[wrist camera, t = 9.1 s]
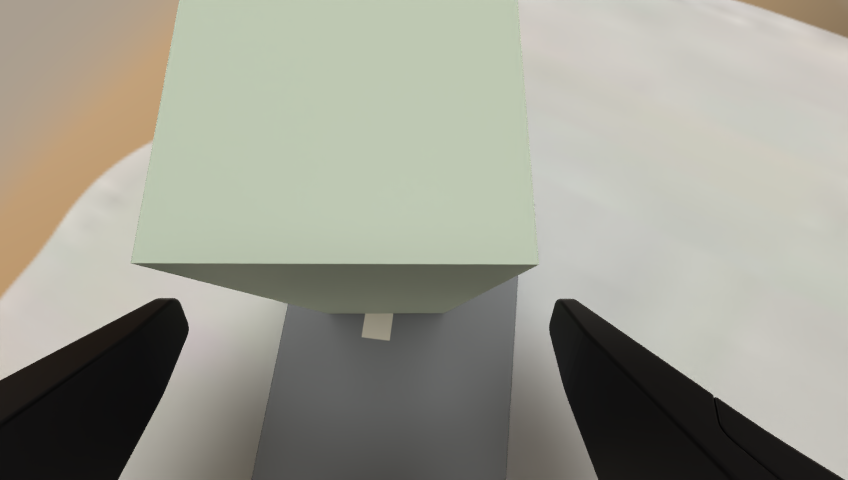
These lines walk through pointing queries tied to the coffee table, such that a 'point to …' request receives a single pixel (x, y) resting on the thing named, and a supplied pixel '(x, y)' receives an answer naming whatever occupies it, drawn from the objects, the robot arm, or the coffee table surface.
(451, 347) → the board
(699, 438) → the robot arm
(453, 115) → the sage block
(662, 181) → the coffee table surface
